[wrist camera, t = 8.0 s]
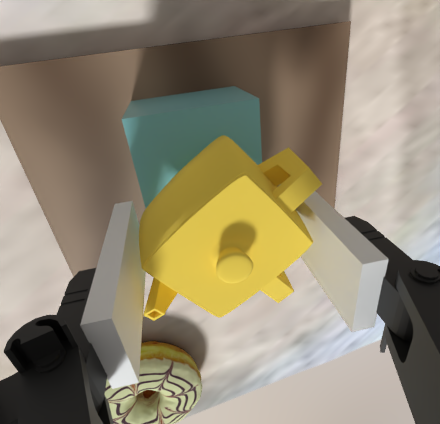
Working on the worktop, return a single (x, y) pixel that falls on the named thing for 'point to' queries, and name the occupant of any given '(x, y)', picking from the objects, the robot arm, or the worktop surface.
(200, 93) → the base brick
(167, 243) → the teapot
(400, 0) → the worktop surface
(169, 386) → the decorated donut
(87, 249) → the walnut board
